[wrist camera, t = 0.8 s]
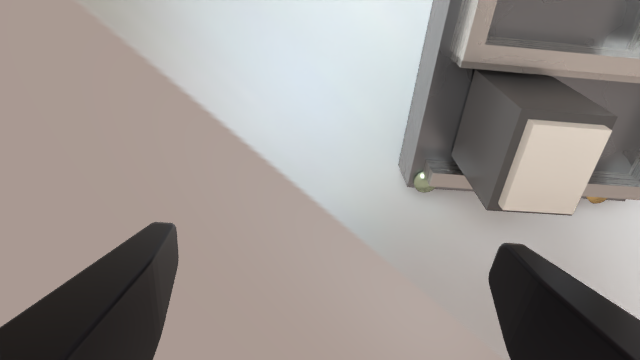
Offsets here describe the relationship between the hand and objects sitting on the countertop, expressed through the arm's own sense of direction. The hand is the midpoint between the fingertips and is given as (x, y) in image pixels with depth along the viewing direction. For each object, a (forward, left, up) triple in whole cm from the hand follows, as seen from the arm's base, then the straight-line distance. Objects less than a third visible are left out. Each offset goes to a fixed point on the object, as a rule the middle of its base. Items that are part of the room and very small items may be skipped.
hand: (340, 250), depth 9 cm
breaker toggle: (-7, 0, -9) cm, 11 cm away
